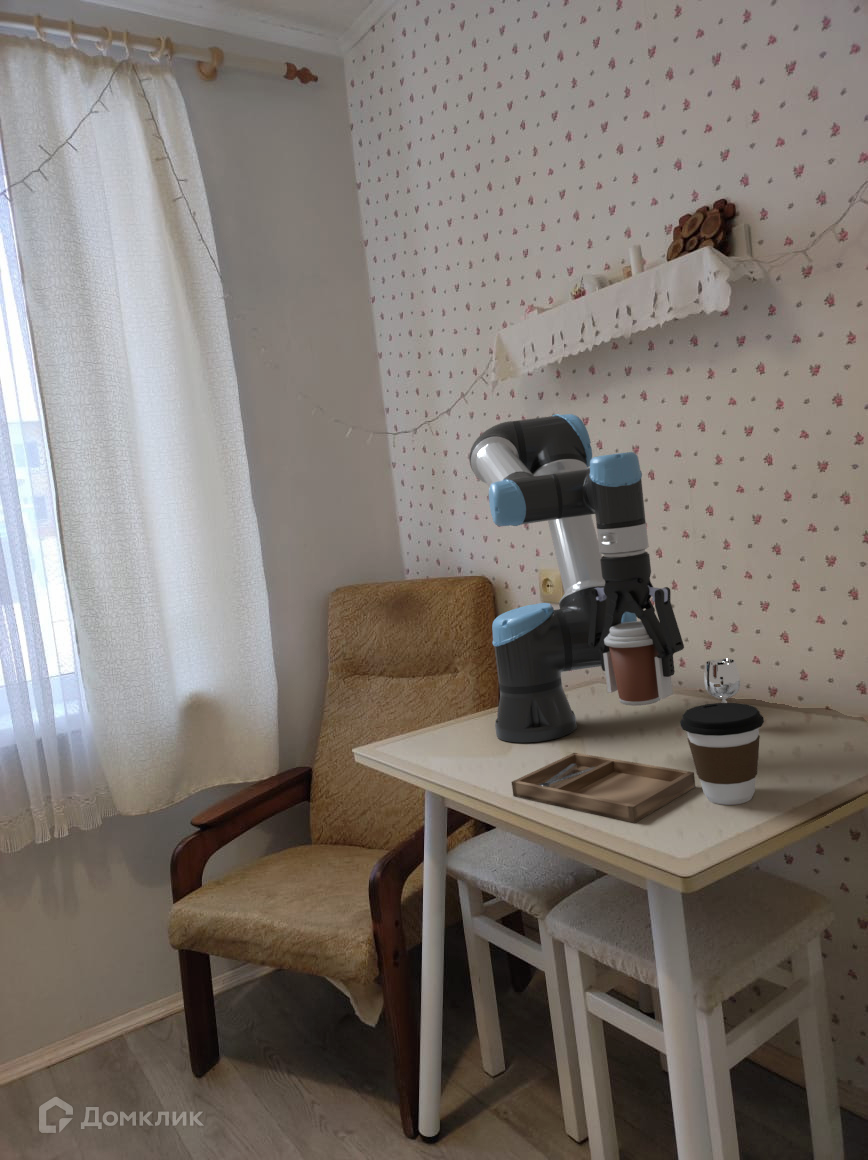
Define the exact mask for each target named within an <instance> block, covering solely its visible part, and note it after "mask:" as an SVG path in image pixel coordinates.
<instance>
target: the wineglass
mask: <svg viewBox="0 0 868 1160" xmlns="http://www.w3.org/2000/svg"><path fill="white" fill-rule="evenodd" d="M703 674H704V675H703V678H704V680H703V681H704V687H705V690H706V692H707V693H708V695H710V696H711V697H713V698H716V699H720V700H722V701H721V703H728V701H727V699H730V698H732V697H734V696H736V695H737V694H738V692H739V691H740V687H741V679H740V678H741V677H740V673H739V670H738V667H737V665H736V661H735V660H734V659H731V658H716V659H710V660H707V661H706V662H705V666H704V673H703Z"/></svg>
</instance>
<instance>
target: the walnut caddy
mask: <svg viewBox="0 0 868 1160" xmlns="http://www.w3.org/2000/svg"><path fill="white" fill-rule="evenodd" d="M571 764H577V771H575V772H574V773H573V774H575V773H578V772H580V771H583V770H586V769H589V768H592V767H595V768H593V769H591V770H589V771H587V772H585V773H583V774H581V775H579V776H577V777H575V778H573V779H571V780H569V781H567V782H565V783H563V784H561V785H559V786H557V787H555V788H550V787H546V786H541V785H539V784H541V783H545V782H547V781H548V780H550V779H551V778H552V777H554V776H555V775H557V774H558V773H559V772H561V771H562V770H564V769H565V768H566V767H568V766H569V765H571ZM571 775H572V774H571ZM695 788H696V777H695V772H694V771H688V770H684V769H683V770H681V769H675V768H670V767H664V766H658V765H652V764H651V765H650V764H646V763H640V762H633V761H628V760H621V759H614V758H609V757H603V756H597V755H591V754H584V753H578V752H573V753H570V754H568V755H567V756H564V757H562V758H560V759H558V760H556V761H553V762H551V763H549V764H546V765H545V766H543V767H540V768H539V769H537V770H534V771H532V772H530V773H528V774H525V775H523V776H521V777H519V778H517V779H514V780H513V781H511V789H512V796H513V797H517V798H521V799H525V800H529V801H535V802H540V803H543V804H548V805H553V806H557V807H561V808H565V809H570V810H574V811H578V812H584V813H588V814H591V815H592V814H593V815H597V816H602V817H606V818H610V819H614V820H620V821H623V822H629V823H633V824H635V823H637V822H639V821H641V820H642V819H644V818H645V817H647V816H649V815H650V814H652V813H654V812H655V811H657V810H659V809H661V808H663V807H664V806H666V805H667V804H669V803H672V802H673V801H674V800H676V799H678V798H679V797H681V796H683V795H684V794H686V793H688V792H690V791H691V790H693V789H695Z"/></svg>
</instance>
